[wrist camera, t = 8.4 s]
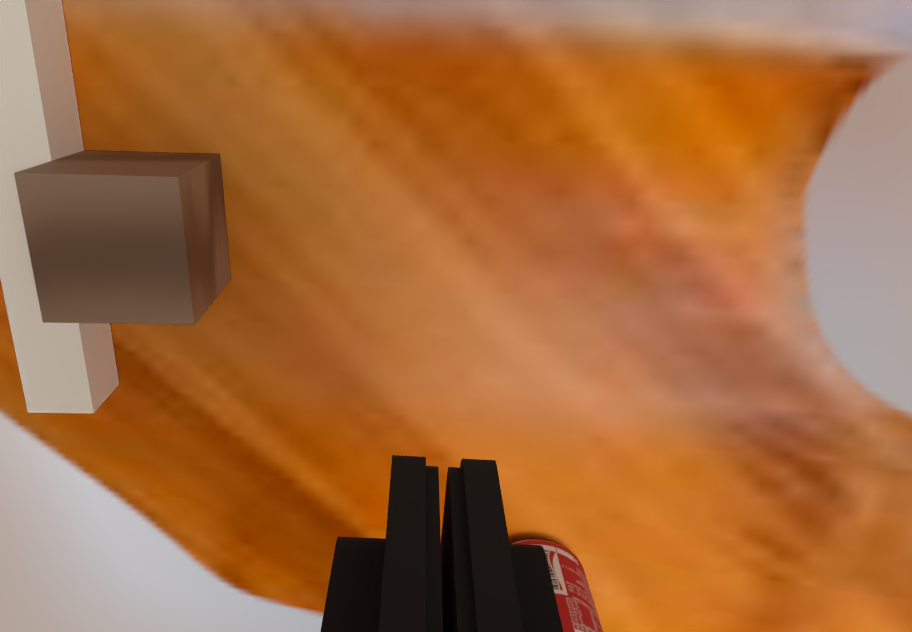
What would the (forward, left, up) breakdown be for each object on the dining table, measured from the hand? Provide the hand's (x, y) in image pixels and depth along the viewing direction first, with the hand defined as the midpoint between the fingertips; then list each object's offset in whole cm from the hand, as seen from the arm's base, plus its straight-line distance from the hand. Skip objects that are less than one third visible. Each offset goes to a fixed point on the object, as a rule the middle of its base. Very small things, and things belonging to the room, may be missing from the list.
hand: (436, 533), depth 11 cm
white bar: (-1, -17, -24) cm, 29 cm away
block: (+1, -12, -24) cm, 27 cm away
